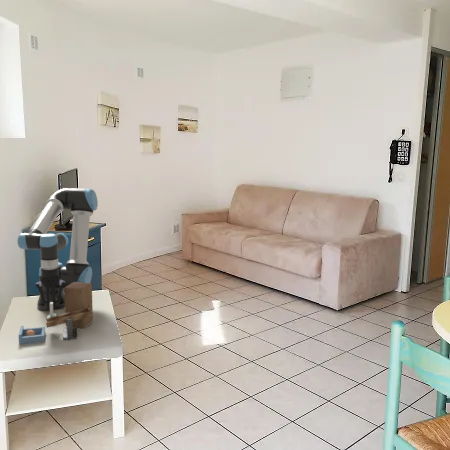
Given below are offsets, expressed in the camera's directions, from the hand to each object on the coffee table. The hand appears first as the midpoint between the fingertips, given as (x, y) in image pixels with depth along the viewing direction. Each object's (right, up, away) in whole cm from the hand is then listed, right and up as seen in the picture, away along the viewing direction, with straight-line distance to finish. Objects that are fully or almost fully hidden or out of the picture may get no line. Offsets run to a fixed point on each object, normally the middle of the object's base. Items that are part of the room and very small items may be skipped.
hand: (51, 316), depth 223 cm
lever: (+9, 0, 0) cm, 9 cm away
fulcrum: (+9, -8, -2) cm, 13 cm away
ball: (-7, -6, -8) cm, 12 cm away
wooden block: (+10, -6, +10) cm, 15 cm away
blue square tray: (-6, -9, -7) cm, 13 cm away
